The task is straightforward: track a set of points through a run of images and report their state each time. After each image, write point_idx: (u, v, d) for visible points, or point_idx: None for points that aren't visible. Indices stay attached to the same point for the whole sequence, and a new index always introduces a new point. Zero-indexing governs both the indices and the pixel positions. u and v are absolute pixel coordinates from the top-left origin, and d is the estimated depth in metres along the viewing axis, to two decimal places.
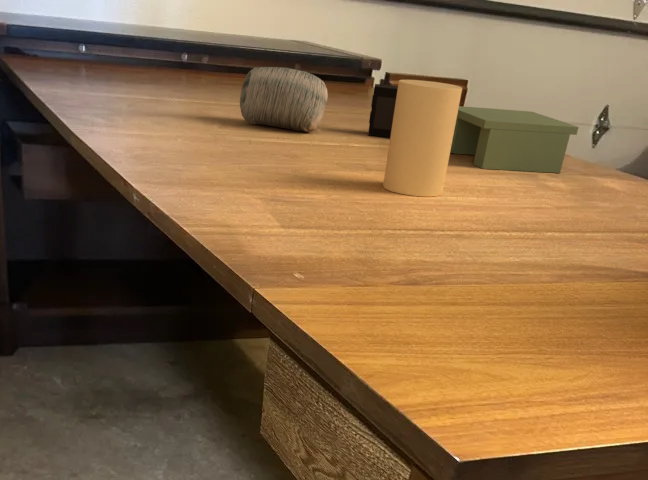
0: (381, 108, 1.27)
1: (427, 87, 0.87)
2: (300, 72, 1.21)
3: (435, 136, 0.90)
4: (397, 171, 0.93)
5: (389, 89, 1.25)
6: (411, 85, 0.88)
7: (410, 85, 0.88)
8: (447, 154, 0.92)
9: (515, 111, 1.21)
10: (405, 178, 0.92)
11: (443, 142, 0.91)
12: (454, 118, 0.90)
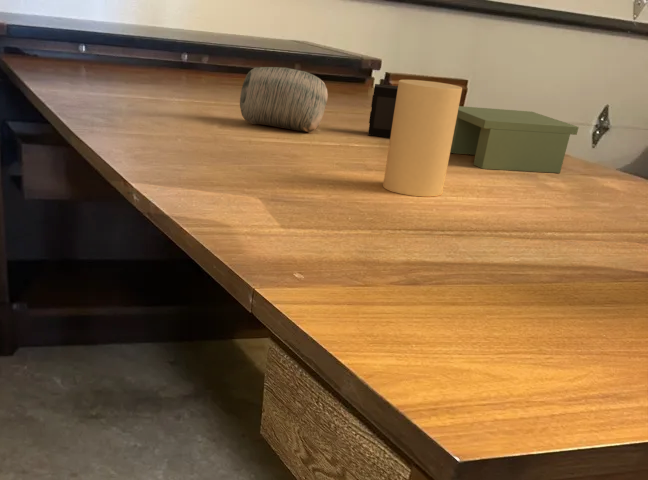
0: (381, 108, 1.27)
1: (427, 87, 0.87)
2: (300, 72, 1.21)
3: (435, 136, 0.90)
4: (397, 171, 0.93)
5: (389, 89, 1.25)
6: (411, 85, 0.88)
7: (410, 85, 0.88)
8: (447, 154, 0.92)
9: (515, 111, 1.21)
10: (405, 178, 0.92)
11: (443, 142, 0.91)
12: (454, 118, 0.90)
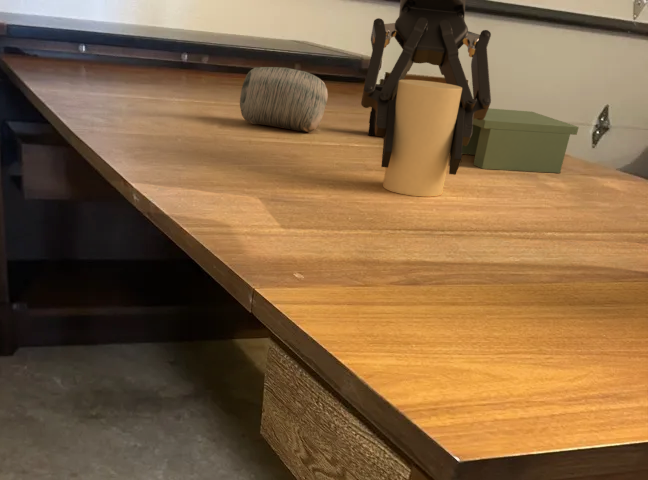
0: None
1: (427, 87, 0.87)
2: (300, 72, 1.21)
3: (435, 136, 0.90)
4: (397, 171, 0.93)
5: None
6: (411, 85, 0.88)
7: (410, 85, 0.88)
8: (447, 154, 0.92)
9: (515, 111, 1.21)
10: (405, 178, 0.93)
11: (443, 142, 0.91)
12: (454, 118, 0.90)
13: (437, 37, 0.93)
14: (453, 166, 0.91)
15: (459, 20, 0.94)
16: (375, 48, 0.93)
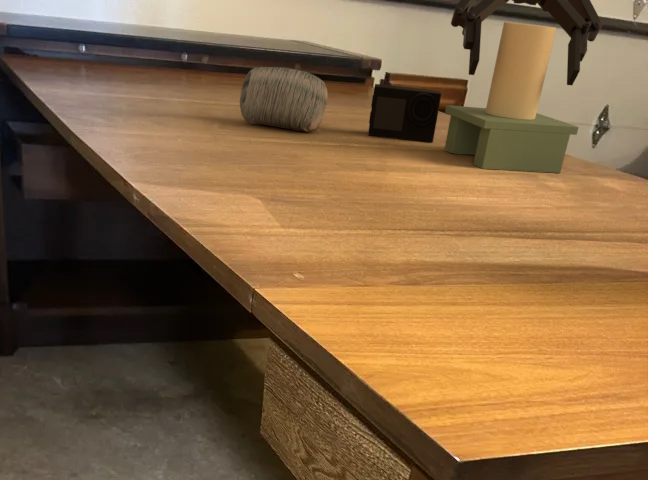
0: (381, 108, 1.27)
1: (530, 26, 1.07)
2: (300, 72, 1.21)
3: (533, 67, 1.10)
4: (500, 98, 1.13)
5: (389, 89, 1.25)
6: (516, 25, 1.08)
7: (515, 25, 1.08)
8: (542, 84, 1.12)
9: None
10: (507, 103, 1.13)
11: (540, 73, 1.11)
12: (549, 53, 1.10)
13: None
14: (571, 77, 1.11)
15: None
16: None
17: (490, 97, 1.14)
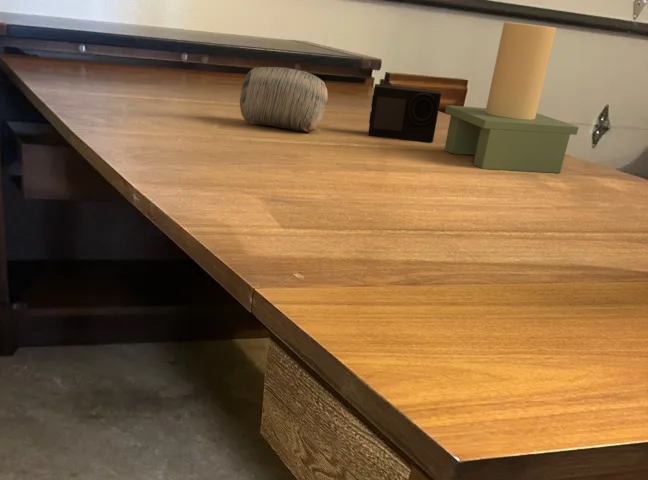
0: (380, 108, 1.27)
1: (530, 26, 1.07)
2: (300, 72, 1.21)
3: (533, 67, 1.10)
4: (500, 98, 1.13)
5: (389, 89, 1.25)
6: (516, 25, 1.08)
7: (515, 25, 1.08)
8: (542, 84, 1.12)
9: None
10: (507, 103, 1.13)
11: (540, 73, 1.11)
12: (549, 53, 1.10)
13: None
14: None
15: None
16: None
17: (490, 97, 1.14)
